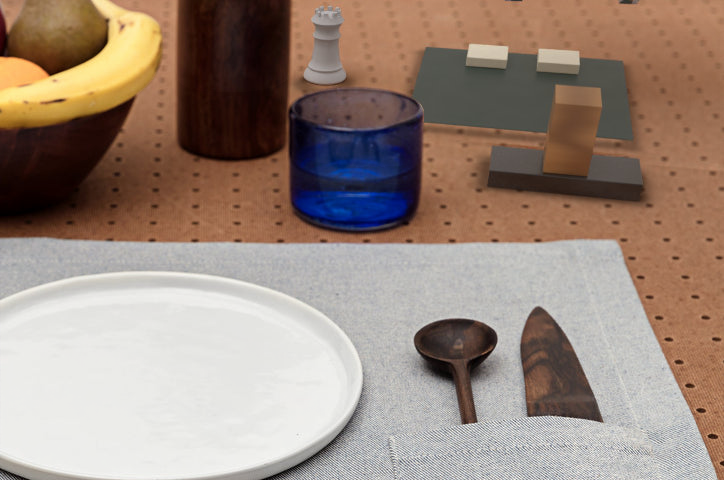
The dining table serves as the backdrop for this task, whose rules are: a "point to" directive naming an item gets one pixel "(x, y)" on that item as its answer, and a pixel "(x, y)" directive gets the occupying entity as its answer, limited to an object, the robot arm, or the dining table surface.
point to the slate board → (514, 92)
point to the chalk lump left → (487, 56)
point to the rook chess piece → (326, 48)
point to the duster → (568, 155)
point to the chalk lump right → (558, 61)
